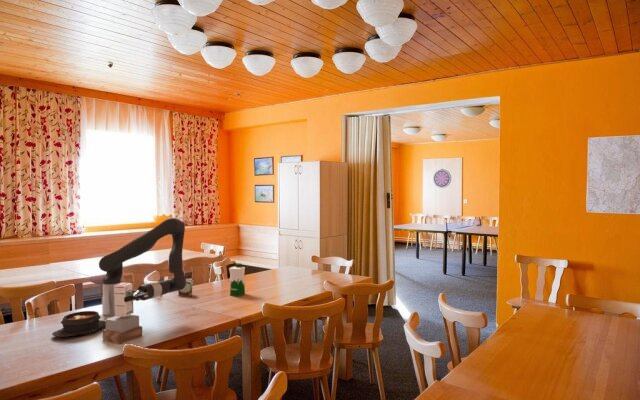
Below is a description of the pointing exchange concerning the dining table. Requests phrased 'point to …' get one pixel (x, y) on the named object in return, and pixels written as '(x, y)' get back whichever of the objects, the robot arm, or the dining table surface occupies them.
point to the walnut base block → (122, 335)
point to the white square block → (122, 323)
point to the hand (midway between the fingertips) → (119, 298)
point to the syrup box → (119, 294)
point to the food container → (187, 289)
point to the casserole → (80, 324)
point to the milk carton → (237, 280)
